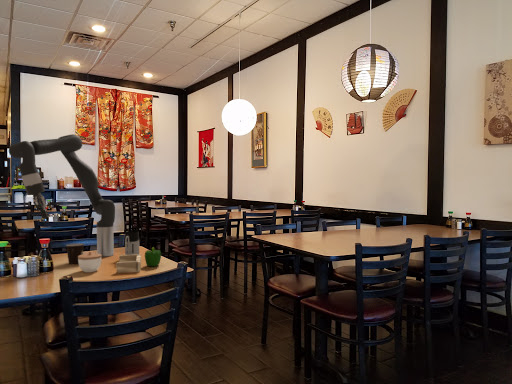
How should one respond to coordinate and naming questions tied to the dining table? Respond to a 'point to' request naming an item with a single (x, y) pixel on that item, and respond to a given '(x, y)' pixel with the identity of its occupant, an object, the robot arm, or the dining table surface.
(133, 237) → the electric kettle
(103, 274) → the dining table surface
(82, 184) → the robot arm
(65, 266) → the dining table surface
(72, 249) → the coffee mug
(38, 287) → the dining table surface
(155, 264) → the bell pepper
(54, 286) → the dining table surface
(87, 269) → the lidded jar
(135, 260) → the cedar bay
